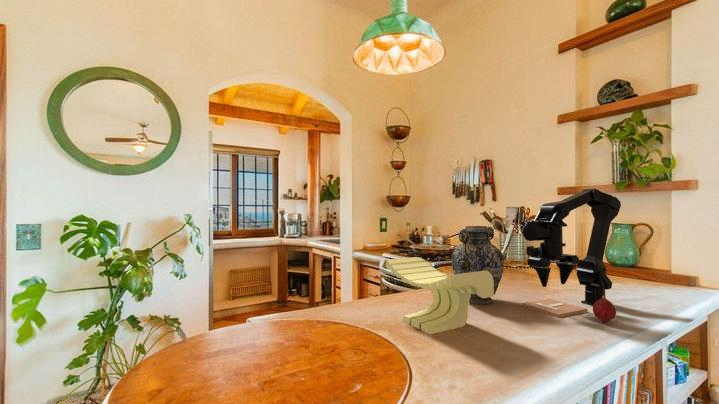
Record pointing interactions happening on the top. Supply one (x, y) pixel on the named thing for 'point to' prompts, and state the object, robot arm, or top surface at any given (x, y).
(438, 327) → the slatted curved stool
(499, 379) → the top surface
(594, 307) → the onion
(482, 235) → the decorative vase
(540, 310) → the letter tile
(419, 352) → the top surface
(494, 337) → the top surface
